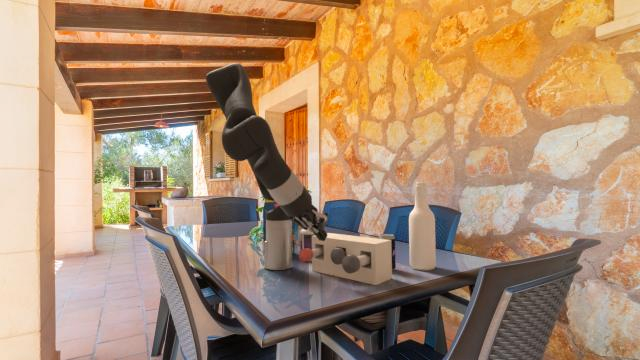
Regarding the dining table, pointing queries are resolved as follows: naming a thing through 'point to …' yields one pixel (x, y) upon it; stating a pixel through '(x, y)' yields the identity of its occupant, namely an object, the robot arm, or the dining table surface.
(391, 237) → the beverage can
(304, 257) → the red knob
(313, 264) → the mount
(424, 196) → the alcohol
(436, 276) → the dining table surface
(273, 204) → the dark thin upright pieces
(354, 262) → the knob
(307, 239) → the pill bottle
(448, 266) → the dining table surface
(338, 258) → the knob
